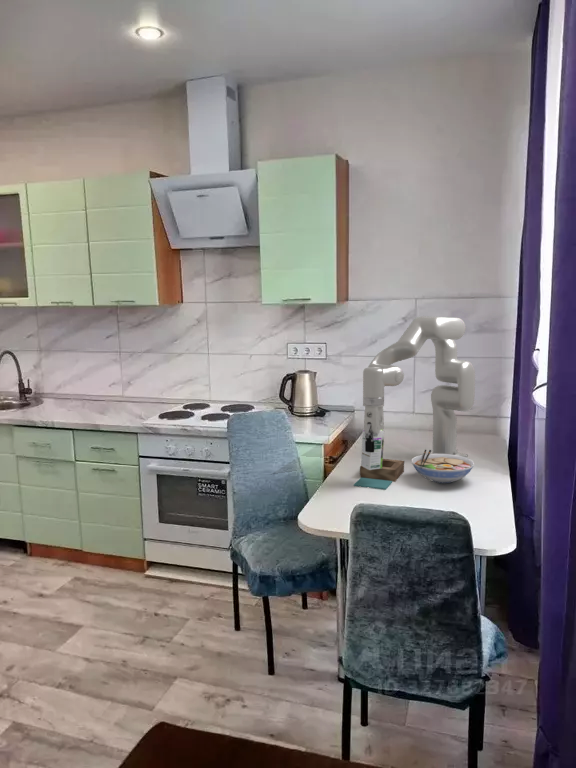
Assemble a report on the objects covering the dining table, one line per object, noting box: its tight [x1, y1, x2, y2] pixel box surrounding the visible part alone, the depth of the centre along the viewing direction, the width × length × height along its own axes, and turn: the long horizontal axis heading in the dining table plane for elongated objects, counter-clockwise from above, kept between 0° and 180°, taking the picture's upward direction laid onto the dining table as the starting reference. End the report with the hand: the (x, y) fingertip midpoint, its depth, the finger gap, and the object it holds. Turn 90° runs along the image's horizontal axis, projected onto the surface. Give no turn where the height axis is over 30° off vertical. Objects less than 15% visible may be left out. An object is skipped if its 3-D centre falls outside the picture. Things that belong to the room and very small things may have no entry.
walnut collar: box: [359, 458, 405, 483], centre depth 231 cm, size 14×14×4 cm
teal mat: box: [353, 477, 393, 491], centre depth 220 cm, size 12×9×1 cm
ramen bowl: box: [411, 449, 475, 484], centre depth 223 cm, size 25×23×8 cm
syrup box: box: [360, 427, 385, 470], centre depth 218 cm, size 6×6×14 cm
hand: (373, 448), depth 218 cm, fingers closed on syrup box, 7 cm apart
